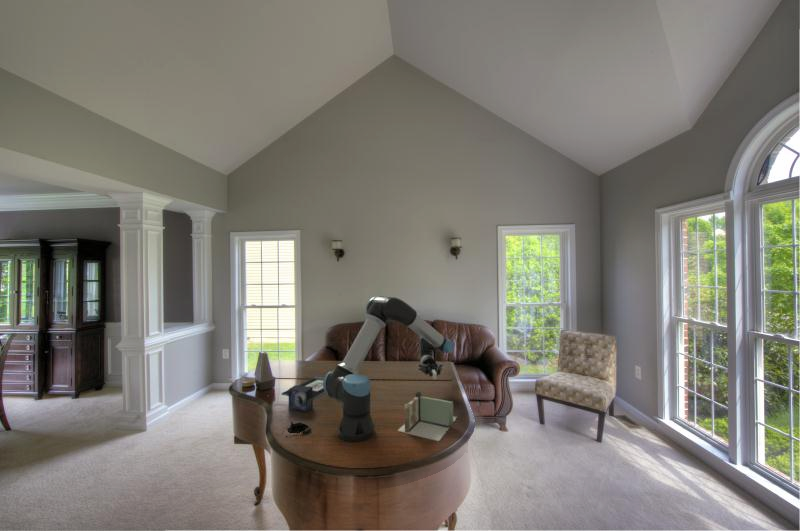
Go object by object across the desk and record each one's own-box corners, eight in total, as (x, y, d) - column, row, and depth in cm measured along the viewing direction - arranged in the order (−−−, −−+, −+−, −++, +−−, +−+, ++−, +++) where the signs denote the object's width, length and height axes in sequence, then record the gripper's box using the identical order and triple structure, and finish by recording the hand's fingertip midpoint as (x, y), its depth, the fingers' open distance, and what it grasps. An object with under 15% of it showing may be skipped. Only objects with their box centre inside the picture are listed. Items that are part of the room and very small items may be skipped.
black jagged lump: (282, 441, 134) (282, 429, 134) (279, 430, 143) (279, 419, 143) (312, 434, 140) (312, 422, 140) (307, 424, 148) (307, 413, 149)
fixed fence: (408, 433, 138) (408, 401, 138) (403, 432, 139) (403, 400, 140) (422, 420, 151) (421, 390, 151) (416, 419, 152) (416, 389, 152)
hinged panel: (420, 419, 149) (420, 397, 149) (421, 417, 150) (421, 396, 151) (452, 426, 142) (452, 403, 142) (453, 424, 144) (453, 401, 144)
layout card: (439, 441, 132) (439, 440, 132) (397, 431, 140) (397, 430, 140) (457, 417, 153) (457, 416, 153) (420, 410, 162) (420, 409, 162)
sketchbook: (281, 395, 184) (281, 391, 185) (315, 379, 212) (315, 376, 212) (311, 401, 176) (311, 397, 176) (343, 383, 203) (343, 380, 203)
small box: (287, 410, 163) (287, 389, 163) (295, 405, 169) (295, 384, 170) (305, 412, 160) (306, 391, 160) (313, 407, 166) (313, 386, 167)
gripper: (440, 370, 179) (448, 384, 155) (416, 370, 178) (421, 384, 155) (440, 356, 179) (448, 368, 156) (416, 356, 179) (421, 368, 155)
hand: (435, 376), depth 155 cm, fingers closed
